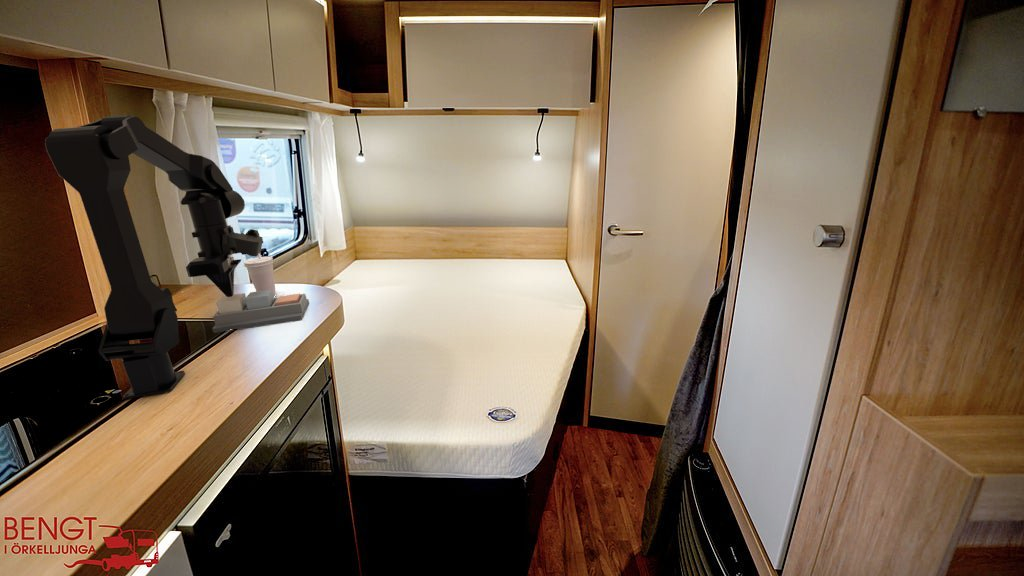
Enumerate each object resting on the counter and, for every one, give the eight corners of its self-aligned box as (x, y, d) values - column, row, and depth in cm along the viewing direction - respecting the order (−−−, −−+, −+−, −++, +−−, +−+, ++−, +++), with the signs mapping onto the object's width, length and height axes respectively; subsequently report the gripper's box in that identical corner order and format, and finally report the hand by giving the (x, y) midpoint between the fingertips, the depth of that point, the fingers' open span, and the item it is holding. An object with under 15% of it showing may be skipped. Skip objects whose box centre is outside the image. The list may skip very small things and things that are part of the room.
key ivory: (242, 310, 99) (239, 299, 98) (219, 313, 98) (216, 302, 97) (247, 303, 103) (244, 293, 102) (225, 306, 102) (222, 296, 101)
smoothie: (287, 294, 117) (274, 240, 112) (262, 303, 112) (248, 246, 107) (272, 291, 120) (259, 238, 116) (248, 299, 115) (233, 244, 111)
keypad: (301, 319, 100) (298, 306, 99) (213, 333, 96) (209, 319, 95) (309, 303, 110) (306, 291, 109) (229, 314, 106) (226, 302, 105)
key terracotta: (299, 310, 102) (296, 299, 101) (277, 313, 101) (275, 302, 100) (302, 303, 106) (300, 293, 105) (281, 306, 105) (279, 296, 104)
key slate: (270, 306, 100) (267, 295, 100) (247, 309, 99) (244, 298, 99) (274, 300, 104) (271, 289, 104) (253, 303, 103) (250, 292, 103)
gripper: (241, 227, 88) (260, 305, 93) (264, 212, 105) (279, 278, 110) (174, 234, 85) (198, 313, 90) (208, 218, 103) (227, 285, 108)
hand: (230, 296), depth 100 cm, fingers closed
